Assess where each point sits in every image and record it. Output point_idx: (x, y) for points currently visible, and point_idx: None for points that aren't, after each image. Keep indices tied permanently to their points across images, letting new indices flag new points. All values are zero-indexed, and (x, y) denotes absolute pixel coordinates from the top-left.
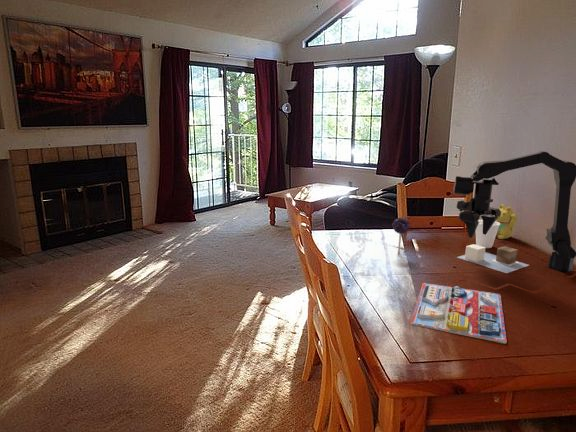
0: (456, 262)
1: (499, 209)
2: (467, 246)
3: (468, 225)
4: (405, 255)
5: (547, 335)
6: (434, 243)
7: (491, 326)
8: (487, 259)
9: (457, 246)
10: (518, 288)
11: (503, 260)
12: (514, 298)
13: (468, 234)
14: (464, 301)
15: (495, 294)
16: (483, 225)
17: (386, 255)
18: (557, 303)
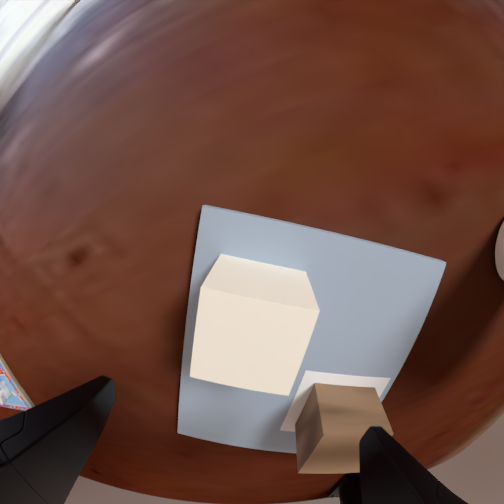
0: (141, 235)
1: None
2: (201, 298)
3: (1, 452)
4: (74, 22)
5: None
6: (400, 5)
7: None
8: (307, 352)
9: (456, 121)
10: (109, 444)
11: (303, 417)
12: None
13: (78, 389)
14: None
15: (24, 403)
16: (404, 494)
17: (42, 5)
18: (115, 479)
